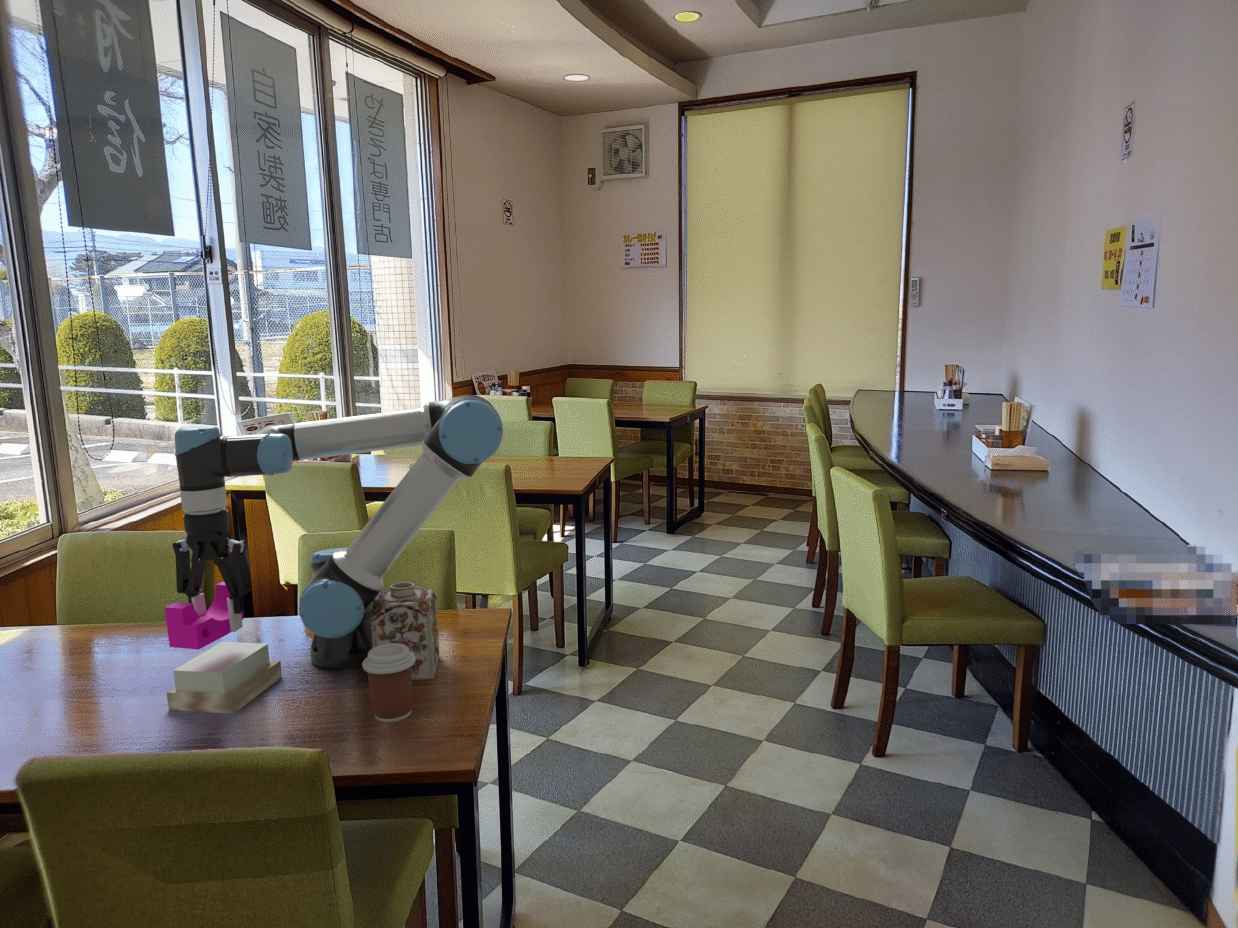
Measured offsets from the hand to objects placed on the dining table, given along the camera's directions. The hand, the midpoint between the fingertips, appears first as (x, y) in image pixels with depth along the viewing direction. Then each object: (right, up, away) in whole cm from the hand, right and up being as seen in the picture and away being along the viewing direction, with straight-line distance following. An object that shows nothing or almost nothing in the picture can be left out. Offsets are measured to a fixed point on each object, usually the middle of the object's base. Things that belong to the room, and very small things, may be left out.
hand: (219, 628), depth 159 cm
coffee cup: (+35, -14, -8) cm, 39 cm away
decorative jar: (+33, -11, +11) cm, 37 cm away
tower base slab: (+1, -13, +2) cm, 13 cm away
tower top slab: (0, -9, +1) cm, 9 cm away
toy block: (0, -1, -1) cm, 1 cm away
